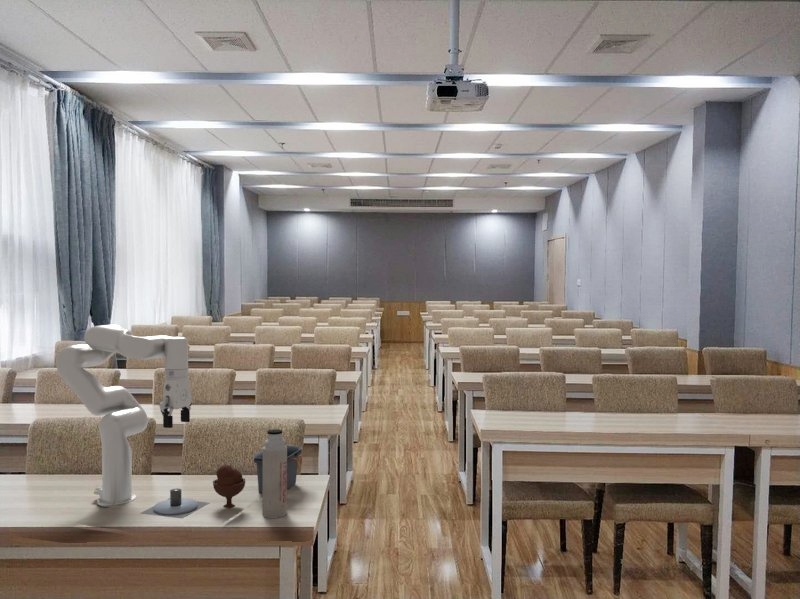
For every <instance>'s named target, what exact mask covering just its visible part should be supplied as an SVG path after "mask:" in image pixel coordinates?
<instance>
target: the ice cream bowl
mask: <svg viewBox="0 0 800 599" xmlns="http://www.w3.org/2000/svg"><path fill="white" fill-rule="evenodd" d="M216 477H217V479H214V480H213V481H212V485H213V489H214V492H215V493H217V495H219V496H221V497H223V498H225V500H226V503H225V504H224V505H223V508H225V509H231V508H235V507H236V505H235V504H234V503H232V502H233V500H232V499H233V498H234V497H236V496H238V495H239V494H240V493H241V492H243V490H244V488H245V486H246V478H244V477H243V475H242V472H241V471H240V470H239V469H238V468H235V467H232V466H231V465H228V464H223V465H220V466H219V467H218V468H217V469H216Z"/></svg>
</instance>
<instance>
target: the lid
mask: <svg viewBox="0 0 800 599" xmlns="http://www.w3.org/2000/svg"><path fill="white" fill-rule="evenodd" d="M169 491H170V492H169V493H170V494H169V495H170V496H169V498H170V499H169V498H168V499H169V500H167V499H166V500H161V501H159V502H157V503H155V504H154V505H153V506H154V512H156V513H158V514H163V515H177V514H183V513H187V512H190V511H193V510H195V509H196V508H197V506H198V502H197V499H192V498H186V497H182V489H181V488H179V487H177V488H172V489H170V490H169Z"/></svg>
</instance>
